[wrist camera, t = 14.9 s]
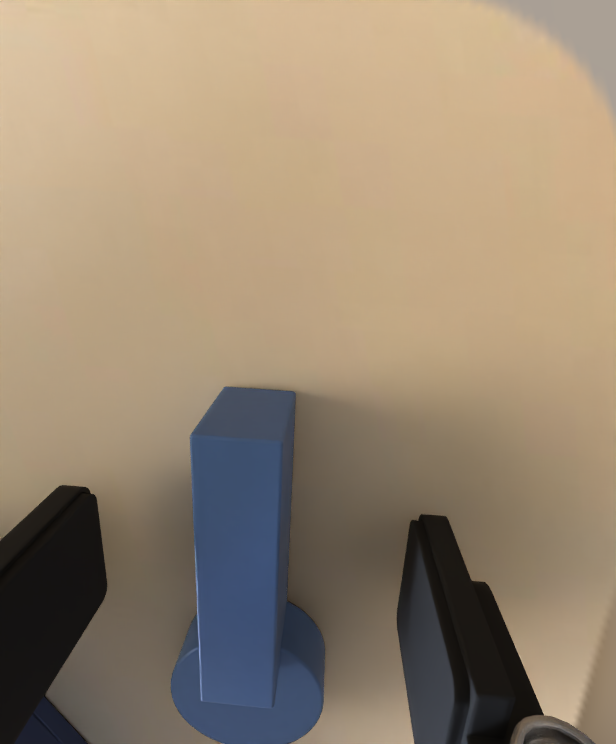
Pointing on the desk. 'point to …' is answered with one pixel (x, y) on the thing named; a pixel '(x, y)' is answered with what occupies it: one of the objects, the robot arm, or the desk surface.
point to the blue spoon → (247, 581)
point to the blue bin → (48, 728)
